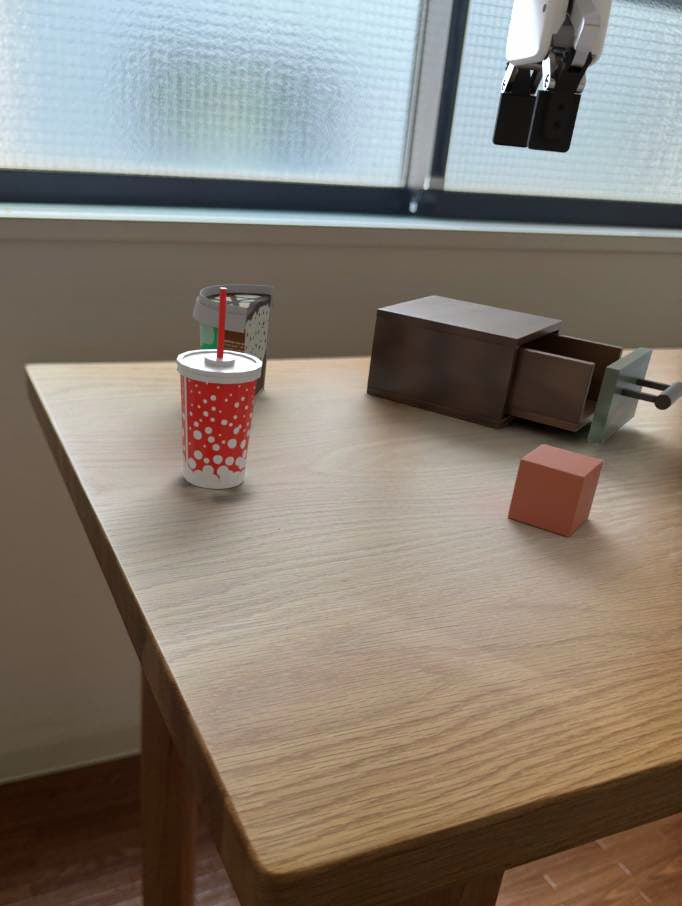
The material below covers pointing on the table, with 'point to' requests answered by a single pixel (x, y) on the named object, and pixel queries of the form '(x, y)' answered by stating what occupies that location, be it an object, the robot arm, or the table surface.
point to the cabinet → (451, 356)
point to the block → (555, 489)
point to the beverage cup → (216, 411)
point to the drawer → (582, 385)
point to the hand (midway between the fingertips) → (527, 148)
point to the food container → (238, 321)
